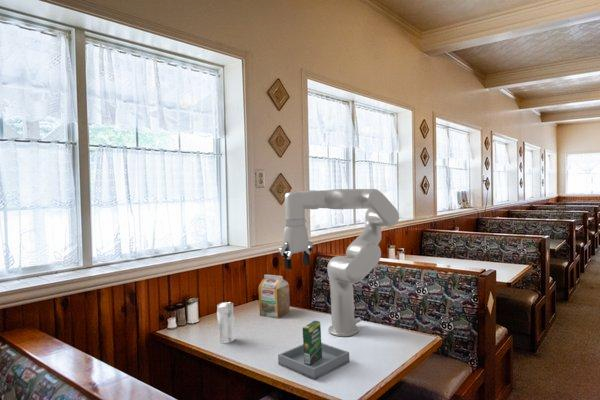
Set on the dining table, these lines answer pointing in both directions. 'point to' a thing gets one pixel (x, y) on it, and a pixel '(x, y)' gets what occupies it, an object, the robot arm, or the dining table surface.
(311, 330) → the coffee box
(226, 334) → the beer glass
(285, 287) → the milk carton
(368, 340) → the dining table surface
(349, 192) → the robot arm
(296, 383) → the dining table surface
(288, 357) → the grey tray
